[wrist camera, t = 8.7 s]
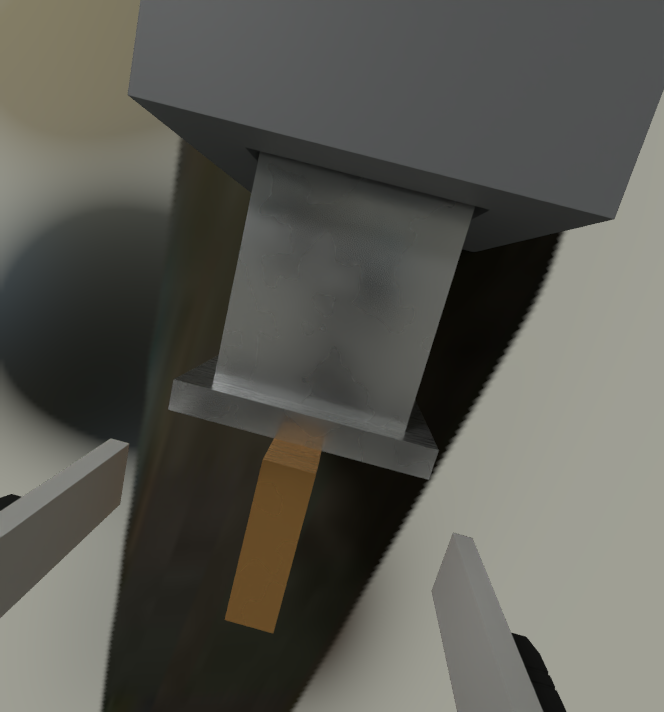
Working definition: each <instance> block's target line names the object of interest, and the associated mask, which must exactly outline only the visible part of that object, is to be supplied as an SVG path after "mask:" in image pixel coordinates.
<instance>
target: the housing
mask: <svg viewBox="0 0 664 712" xmlns="http://www.w3.org/2000/svg"><path fill="white" fill-rule="evenodd" d="M663 90H664V0H141V1H140V9H139V16H138V23H137V30H136V38H135V45H134V53H133V61H132V67H131V75H130V82H129V89H128V96H130V97H131V98H132V99H133V100H135V101H136V102H137V103H139V104H140V105H141V106H142V107H144V108H145V109H146V110H147V111H149V112H150V113H151V114H152V115H154V116H155V117H156V118H157V119H159V120H160V121H161V122H163V123H164V124H165V125H166V126H168V127H169V128H170V129H171V130H173V131H174V132H175V133H176V134H178V135H179V136H180V137H181V138H183V139H184V140H185V141H186V142H188V143H189V144H190V145H192V146H193V147H194V148H195V149H197V150H198V151H199V152H200V153H202V154H203V155H204V156H205V157H207V158H208V159H209V160H210V161H212V162H213V163H214V164H215V165H217V166H218V167H219V168H221V169H222V170H223V171H224V172H226V173H227V174H228V175H229V176H231V177H232V178H233V179H234V180H236V181H237V182H238V183H239V184H241V185H242V186H243V187H245V188H246V189H247V190H248V191H250V192H251V193H252V188H253V183H254V178H255V174H256V169H257V164H258V159H259V154H260V151H262V152H266V153H270V154H274V155H278V156H282V157H286V158H289V159H293V160H297V161H301V162H305V163H309V164H313V165H317V166H321V167H325V168H328V169H332V170H336V171H340V172H344V173H348V174H352V175H356V176H360V177H364V178H368V179H371V180H375V181H379V182H383V183H387V184H391V185H395V186H399V187H403V188H407V189H410V190H414V191H418V192H422V193H426V194H430V195H434V196H438V197H442V198H446V199H449V200H453V201H457V202H461V203H465V204H469V205H473V206H475V209H474V212H473V215H472V218H471V221H470V225H469V228H468V231H467V234H466V237H465V241H464V244H463V247H462V249H463V250H467V251H471V252H477V251H481V250H486V249H490V248H494V247H498V246H502V245H507V244H511V243H515V242H519V241H524V240H528V239H532V238H536V237H541V236H545V235H549V234H553V233H557V232H562V231H566V230H570V229H574V228H579V227H583V226H587V225H591V224H595V223H600V222H604V221H608V220H612V219H614V218H615V216H616V213H617V211H618V208H619V205H620V203H621V200H622V197H623V195H624V192H625V190H626V187H627V184H628V182H629V179H630V176H631V174H632V171H633V168H634V166H635V163H636V161H637V158H638V155H639V153H640V150H641V148H642V145H643V142H644V140H645V137H646V134H647V131H648V129H649V127H650V124H651V121H652V118H653V116H654V113H655V111H656V108H657V105H658V103H659V100H660V98H661V95H662V92H663Z"/></svg>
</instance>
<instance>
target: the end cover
mask: <svg viewBox="0 0 664 712" xmlns="http://www.w3.org/2000/svg"><path fill="white" fill-rule="evenodd" d="M474 209H475V206H473V205H469V204H465V203H461V202H457V201H453V200H449V199H446V198H442V197H438V196H434V195H430V194H426V193H422V192H418V191H414V190H410V189H407V188H403V187H399V186H395V185H391V184H387V183H383V182H379V181H375V180H371V179H368V178H364V177H360V176H356V175H352V174H348V173H344V172H340V171H336V170H332V169H328V168H325V167H321V166H317V165H313V164H309V163H305V162H301V161H297V160H293V159H289V158H286V157H282V156H278V155H274V154H270V153H266V152H262V151H260V154H259V159H258V164H257V169H256V174H255V178H254V183H253V188H252V193H251V198H250V203H249V208H248V213H247V218H246V223H245V228H244V233H243V238H242V243H241V248H240V253H239V258H238V263H237V268H236V272H235V277H234V282H233V287H232V292H231V297H230V302H229V307H228V312H227V317H226V322H225V327H224V332H223V337H222V342H221V347H220V352H219V355H218V356H216V357H214V358H213V359H211V360H209V361H207V362H205V363H203V364H201V365H199V366H198V367H196V368H194V369H192V370H190V371H188V372H186V373H185V374H183V375H181V376H179V377H177V378H175V379H174V381H173V386H172V392H171V397H170V403H169V408H168V410H172V411H176V412H179V413H183V414H187V415H190V416H194V417H198V418H201V419H205V420H209V421H213V422H216V423H220V424H224V425H227V426H231V427H235V428H239V429H242V430H246V431H250V432H253V433H257V434H261V435H264V436H268V437H272V438H274V440H273V442H272V443H271V445H270V447H269V449H268V451H267V453H266V455H265V456H264V458H263V461H262V465H261V469H260V474H259V478H258V482H257V486H256V490H255V495H254V499H253V503H252V507H251V511H250V516H249V520H248V524H247V528H246V532H245V537H244V541H243V545H242V549H241V553H240V558H239V562H238V566H237V570H236V575H235V579H234V583H233V587H232V591H231V596H230V600H229V604H228V608H227V612H226V617H225V620H227V621H231V622H234V623H238V624H241V625H245V626H249V627H252V628H256V629H259V630H263V631H266V632H270V633H273V632H274V628H275V625H276V621H277V617H278V613H279V610H280V606H281V602H282V599H283V595H284V591H285V587H286V584H287V580H288V576H289V573H290V569H291V565H292V561H293V558H294V554H295V550H296V547H297V543H298V539H299V535H300V532H301V528H302V524H303V521H304V517H305V513H306V509H307V506H308V502H309V498H310V495H311V491H312V487H313V484H314V480H315V476H316V472H317V468H318V463H319V459H320V454H321V451H324V452H327V453H331V454H335V455H339V456H342V457H346V458H350V459H353V460H357V461H361V462H365V463H368V464H372V465H376V466H379V467H383V468H387V469H390V470H394V471H398V472H402V473H405V474H409V475H413V476H416V477H420V478H424V479H428V480H429V478H430V475H431V472H432V469H433V466H434V463H435V460H436V457H437V454H438V451H439V450H438V448H437V445H436V443H435V441H434V439H433V437H432V435H431V432H430V430H429V428H428V426H427V424H426V421H425V419H424V417H423V415H422V413H421V411H420V408H419V406H418V404H417V402H416V400H415V398H416V395H417V392H418V388H419V385H420V382H421V379H422V376H423V372H424V369H425V366H426V363H427V360H428V356H429V353H430V350H431V347H432V343H433V340H434V337H435V334H436V331H437V327H438V324H439V321H440V318H441V315H442V311H443V308H444V305H445V302H446V298H447V295H448V292H449V289H450V286H451V282H452V279H453V276H454V273H455V270H456V266H457V263H458V260H459V257H460V253H461V250H462V247H463V244H464V241H465V237H466V234H467V231H468V228H469V225H470V221H471V218H472V215H473V212H474Z"/></svg>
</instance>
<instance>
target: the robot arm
mask: <svg viewBox="0 0 664 712" xmlns="http://www.w3.org/2000/svg"><path fill="white" fill-rule="evenodd" d="M128 449H129V443H125V442H121V441H118V440H114V439H109V440H108V441H106V442H105V443H103V444H102V445H101V446H99V447H97V448H96V449H94V450H93V451H91V452H90V453H88V454H87V455H85V456H84V457H82V458H80V459H79V460H77V461H76V462H75V463H73V464H71V465H70V466H68V467H67V468H65V469H64V470H62V471H61V472H59V473H58V474H56V475H55V476H53V477H52V478H50V479H49V480H47V481H45V482H44V483H43V484H41V485H39V486H38V487H37V488H35V489H33V490H32V491H30V492H29V493H27V494H26V495H24V496H23V497H20V496H17V495H13V494H10V495H7V496H4V497H2V498H0V618H1V617H2V616H3V615H4V614H5V613H6V612H7V611H8V610H9V609H10V608H11V607H12V606H13V605H14V604H15V603H17V602H18V601H19V600H20V599H21V598H22V597H23V596H24V595H25V594H26V593H27V592H28V591H29V590H30V589H31V588H32V587H33V586H34V585H35V584H36V583H38V582H39V581H40V580H41V579H42V578H43V577H44V576H45V575H46V574H47V573H48V572H49V571H50V570H51V569H52V568H53V567H54V566H55V565H56V564H58V563H59V562H60V561H61V560H62V559H63V558H64V557H65V556H66V555H67V554H68V553H69V552H70V551H71V550H72V549H73V548H74V547H75V546H77V545H78V544H79V543H80V542H81V541H82V540H83V539H84V538H85V537H86V536H87V535H88V534H89V533H90V532H91V531H92V530H93V529H94V528H95V527H96V526H98V525H99V524H100V523H101V522H102V521H103V520H104V519H105V518H106V517H107V516H108V515H109V514H110V513H111V512H112V511H113V510H114V509H115V508H117V506H119V505H120V501H121V494H122V488H123V481H124V475H125V468H126V461H127V455H128ZM432 595H433V600H434V604H435V609H436V614H437V618H438V622H439V628H440V633H441V637H442V642H443V647H444V651H445V655H446V661H447V665H448V670H449V675H450V680H451V684H452V689H453V694H454V698H455V703H456V708H457V712H566V710H565V708H564V705H563V703H562V701H561V699H560V697H559V694H558V693H557V691H556V690H555V686H554V684H553V681H552V679H551V677H550V676H549V675H548V671H547V668H546V666H545V664H544V662H543V660H542V658H541V655H540V654H539V652H538V651H537V650H536V649H535V647H534V646H533V645H532V643H531V642H530V641H529V640H528V639H527V637H525V636H521V635H518V634H514V633H511V632H510V629H509V627H508V624H507V622H506V619H505V617H504V614H503V612H502V610H501V607H500V605H499V602H498V600H497V597H496V595H495V592H494V590H493V587H492V585H491V583H490V580H489V578H488V575H487V573H486V570H485V568H484V566H483V563H482V560H481V558H480V556H479V553H478V551H477V548H476V546H475V544H474V541H473V539H472V538H471V537H467V536H464V535H460V534H456V533H453V534H452V537H451V540H450V542H449V545H448V548H447V550H446V553H445V556H444V559H443V561H442V564H441V567H440V570H439V573H438V575H437V578H436V581H435V583H434V586H433V589H432Z"/></svg>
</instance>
